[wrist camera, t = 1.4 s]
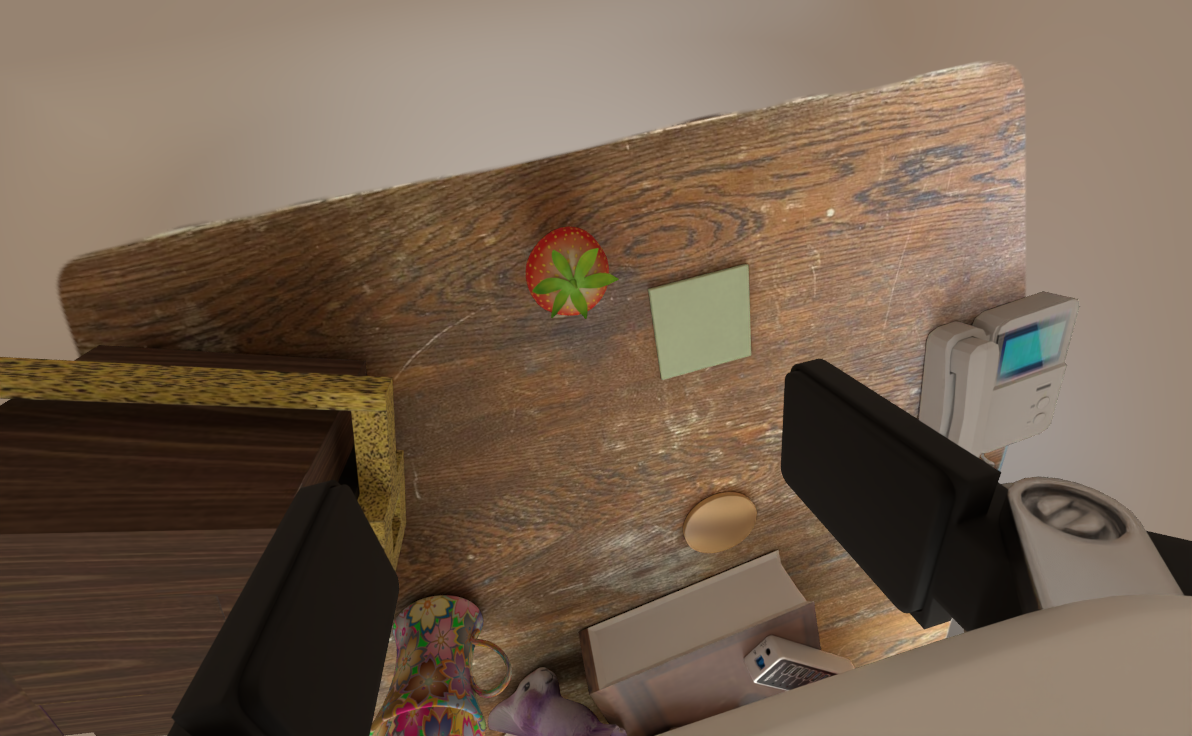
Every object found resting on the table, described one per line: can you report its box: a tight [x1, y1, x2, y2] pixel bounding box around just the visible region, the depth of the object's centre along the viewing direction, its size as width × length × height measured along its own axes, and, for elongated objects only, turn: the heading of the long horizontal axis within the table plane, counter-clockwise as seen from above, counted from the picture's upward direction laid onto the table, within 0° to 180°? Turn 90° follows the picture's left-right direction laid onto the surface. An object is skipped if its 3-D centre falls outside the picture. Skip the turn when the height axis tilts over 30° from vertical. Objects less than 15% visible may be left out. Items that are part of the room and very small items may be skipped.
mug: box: [370, 595, 512, 736], centre depth 41 cm, size 12×9×11 cm
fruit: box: [526, 227, 619, 319], centre depth 28 cm, size 5×5×8 cm
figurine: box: [488, 667, 627, 736], centre depth 50 cm, size 9×10×15 cm
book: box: [579, 550, 821, 736], centre depth 55 cm, size 24×28×6 cm
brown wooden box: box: [0, 345, 406, 736], centre depth 29 cm, size 21×15×30 cm
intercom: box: [919, 292, 1080, 467], centre depth 46 cm, size 13×4×25 cm
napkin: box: [648, 264, 751, 380], centre depth 36 cm, size 8×8×1 cm
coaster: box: [683, 492, 757, 553], centre depth 47 cm, size 8×8×1 cm
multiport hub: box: [744, 635, 855, 691], centre depth 49 cm, size 4×14×2 cm, turn 55°
